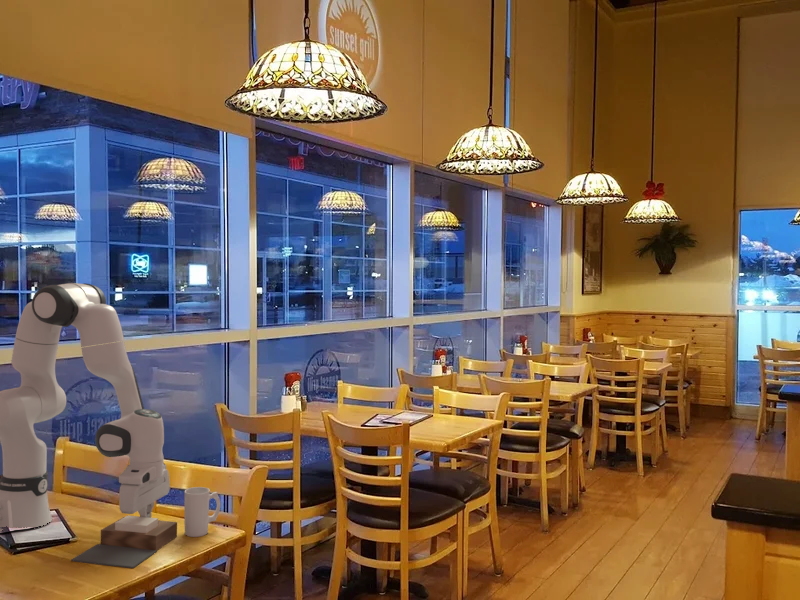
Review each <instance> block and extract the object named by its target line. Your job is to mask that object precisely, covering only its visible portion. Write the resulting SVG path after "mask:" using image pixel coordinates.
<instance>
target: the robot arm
mask: <svg viewBox="0 0 800 600" xmlns="http://www.w3.org/2000/svg"><path fill="white" fill-rule="evenodd" d="M69 326H72V327H74V328H76V330H77V331H78V333H79V334H78V335H79V339H80V340H79V341H80V347H81V349H80V350H81V353H82V355H81V356H82V361H83V362H84V365H85V367H86V369H87V370H88V371H89V372H90V373H91V374H92V375H94V376H96V377H99V378H101V379H104V380H106V381H107V382H109V383H110V384H111V385H112V387H113V388H114V390H115V394H116V397H117V402H118V405H119V406H118V407H119V409H120V410H119V411H120V418H119V419H115V420H112V421H109V422H107V423H105V424H103V425H101V426H100V427H99V428H98V429H97V431H96V432H95V439H94V442H95V446H96V450H98V452H99V453H100V454H101V455H103V456H104V457H107V458H116V457H123V456H127V457H128V459H129V461H128V462H129V464H128V465H127V466H126V468H125V469H124V470H123V472H121V473H120V474H119V476H118V482H119V484H121V485H120V487H119V492H118V493H119V495H118V496H119V497H118V501H119V505H118V507H119V511H120V512H121V513H122V514H126V515H127V514H128V515H134V514H135V513H137V512H138V515H139V517H149V518H152V512H153V509H154V507H155V506H154V505H155V502H156V501H158V500H160V499H161V498H163V497H165V496H166V495H168V494H169V492H170V488H171V487H170V485H171V484H170V473H169V470H168V469H167V464H166V463H165V461H164V458H165V457H164V454H163V447H164V444H165V427H164V420H163V417H162V415H161V414H160V413H159V412H157V410H153V409H146V408H145V407H144V404H143V399H142V395H141V391H140V388H139V384H138V380H137V376H136V372H135V370H134V368H133V365H132V363H131V361H130V360H129V357H128V356H129V355H128V353H127V349H126V344H125V338H124V333H123V328H122V325H121V322H120V318H119V316H118V313H117V311H116V309H115V308H114V306H112V305H109V304H107V299H106V296H105V293H104V291H103V290H102V289H101V288H100V287H98V286H97V285H94V284H92V283H91V284H90V283H87V282H86V283H84V282H83V283H77V282H76V283H75V282H68V283H62V284H50V285H47V286H44V287H41V288H40V289H39V290H37V291H36V292H35V294H34V295H33V297H32V299H31V301H30V302H28V303H27V304H26V305H25V306H24V308H23V310H22V313H21V315H20V318H19V321H18V324H17V329H16V333H15V338H14V344H13V350H12V353H11V354H12V356H11V360H10V361H11V362H10V363H11V366H12V368H13V369H14V370H15V371H17V372H18V373H20V378H21V381H20V382H21V383H20V386H18V387H14V388H13V387H12V388H8V389H3V390H0V445H1V450H2V474H0V527H6V526H7V527H10V528H13V527H16V528H17V527H18V528H22V527H23V528H25V527H26V528H27V527H38V526H41V527H44V526H46V525H48V524H50V523H51V522H52V521H53V517H52V513H51V511H50V507H49V506H50V505H49V498H48V487H49V471H48V470H47V461H48V459H47V457H48V456H47V454H48V453H47V451H48V448H47V447H48V446H47V444H46V443H45V441H43V440H42V439H40V438H39V437H37V435H36V432H35V428H34V424H38V423H42V422H46V421H49V420H51V419H53V418H55V417H57V416H58V415H60V414H61V413H63V412H64V410H65V409H66V406H67V395H66V392H65V391H64V389H63V388H62V387H61V386H60V385H59V383H58V381H57V378H56V377H57V376H56V361H57V354H58V349H59V342H60V336H61V331H62V328H64V327H65V328H67V327H69ZM49 522H50V523H49ZM47 523H48V524H47ZM43 525H44V526H43ZM38 528H39V527H38ZM2 530H3V529H0V531H2Z"/></svg>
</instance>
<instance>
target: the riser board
mask: <svg viewBox="0 0 800 600" xmlns="http://www.w3.org/2000/svg"><path fill="white" fill-rule="evenodd" d="M124 517H125V516H122V517H121V518H120V519H117V520H116V521H114V522H112V523H110V524H109V525H107V526H105V527H103V528H101V529H100V544H103V545H112V546H121V547H130V548H139V549H148V550H157V551H158V550H160V549H161V548H162V546H163V547H164V546H165V545H167V544H168V543H170V542H171V541H173V540H174V539H176V538H177V537H178V521H170V520H169V521H168V520H161V519H160V520H159V519H158V526H157V527H155V528H154V529H152V530H151V531H149V532H148V533H139V532H129V531H119V530H115V522H117V521H119V520H121V519H122V518H124ZM175 537H176V538H175ZM159 548H160V549H159Z"/></svg>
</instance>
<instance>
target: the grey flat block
mask: <svg viewBox="0 0 800 600" xmlns="http://www.w3.org/2000/svg"><path fill="white" fill-rule="evenodd" d="M123 517H124V518H123ZM123 517H121V518H122V519H121V518H120V519H121V520H119V519H118V520H119V521H118V520H116V521H117V522H116V521H114V522H115V530H119V531H129V532H139V533H148V532H149V531H151V530H152V529H154V528H155V527H157V526H158V520H159V518H157V517H151V518H149V517H140V516H137V515H126V516H123Z"/></svg>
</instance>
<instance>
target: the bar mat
mask: <svg viewBox="0 0 800 600" xmlns="http://www.w3.org/2000/svg"><path fill="white" fill-rule="evenodd" d="M157 551H158V550H148V549H139V548H130V547H121V546H112V545H103V544H101V543H97V544H95V545H93V546H92V547H89V548H88V549H87V550H85V551H83V552H82V553H80V554H78V555H76V556H75V557H73V558H71V560H70V561H71V562H76V563H84V564H85V563H86V564H92V565H93V564H94V565H100V566H101V565H103V566H111V567H117V566H119V568H128V569H135V568H136V567H137V566H139V565H140V564H142V563H143V562H145V561H146V560H147V559H149V558H150V557H152V556H153V555H155V554H156V553H157ZM154 553H155V554H154ZM144 560H145V561H144Z"/></svg>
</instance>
